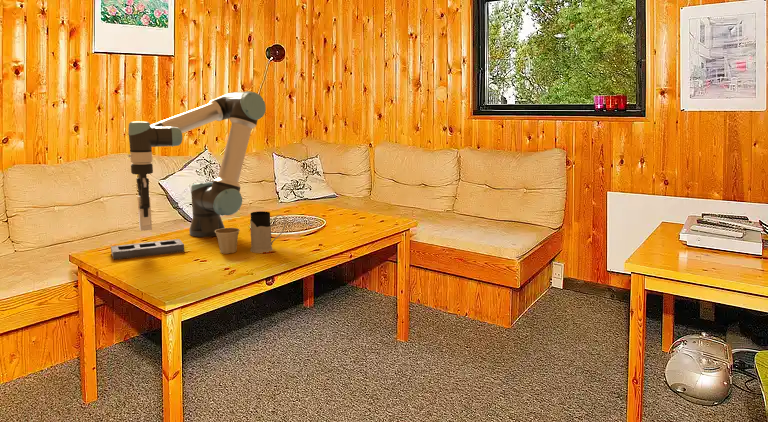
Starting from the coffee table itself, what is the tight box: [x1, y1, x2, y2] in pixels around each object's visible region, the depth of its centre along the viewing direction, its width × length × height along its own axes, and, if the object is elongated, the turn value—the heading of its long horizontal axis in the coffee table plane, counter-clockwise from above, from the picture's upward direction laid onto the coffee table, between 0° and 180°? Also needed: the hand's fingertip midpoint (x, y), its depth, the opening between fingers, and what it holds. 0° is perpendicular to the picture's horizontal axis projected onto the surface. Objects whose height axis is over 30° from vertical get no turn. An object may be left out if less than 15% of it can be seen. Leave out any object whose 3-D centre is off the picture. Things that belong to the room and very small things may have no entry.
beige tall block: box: [137, 195, 153, 232], centre depth 209 cm, size 4×4×13 cm
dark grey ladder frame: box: [110, 238, 185, 260], centre depth 212 cm, size 25×10×3 cm, turn 120°
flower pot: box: [215, 227, 241, 255], centre depth 214 cm, size 9×9×9 cm
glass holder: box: [250, 210, 287, 254], centre depth 218 cm, size 9×14×15 cm, turn 111°
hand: (145, 223), depth 210 cm, fingers closed on beige tall block, 4 cm apart
